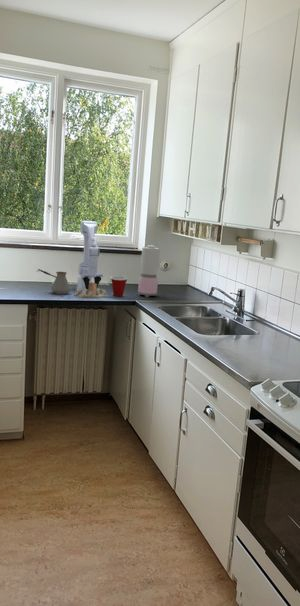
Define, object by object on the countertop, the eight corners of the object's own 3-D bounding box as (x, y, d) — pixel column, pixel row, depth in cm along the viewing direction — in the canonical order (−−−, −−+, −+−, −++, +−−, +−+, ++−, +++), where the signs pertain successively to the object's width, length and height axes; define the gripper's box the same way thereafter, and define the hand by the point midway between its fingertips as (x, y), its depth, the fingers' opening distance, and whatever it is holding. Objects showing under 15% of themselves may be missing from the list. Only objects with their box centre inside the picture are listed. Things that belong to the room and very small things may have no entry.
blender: (149, 298, 319) (153, 247, 313) (133, 294, 326) (137, 244, 319) (162, 295, 332) (167, 246, 326) (147, 292, 339) (151, 244, 332)
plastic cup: (105, 295, 315) (107, 276, 313) (114, 293, 325) (116, 275, 322) (120, 298, 310) (122, 279, 308) (129, 296, 320) (131, 277, 318)
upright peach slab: (85, 292, 313) (86, 281, 312) (89, 292, 315) (89, 281, 313) (92, 295, 307) (93, 283, 306) (96, 295, 309) (96, 283, 307)
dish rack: (74, 294, 310) (74, 288, 309) (97, 293, 321) (98, 287, 320) (83, 298, 302) (83, 292, 301) (107, 296, 312) (107, 291, 311)
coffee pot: (65, 291, 319) (66, 267, 316) (73, 294, 310) (74, 270, 307) (32, 292, 307) (33, 267, 304) (40, 295, 298) (41, 270, 295)
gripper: (85, 267, 300) (84, 290, 303) (106, 267, 309) (104, 289, 312) (79, 266, 306) (78, 288, 308) (100, 265, 315) (98, 287, 317)
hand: (91, 288), depth 310 cm, fingers open, 6 cm apart
